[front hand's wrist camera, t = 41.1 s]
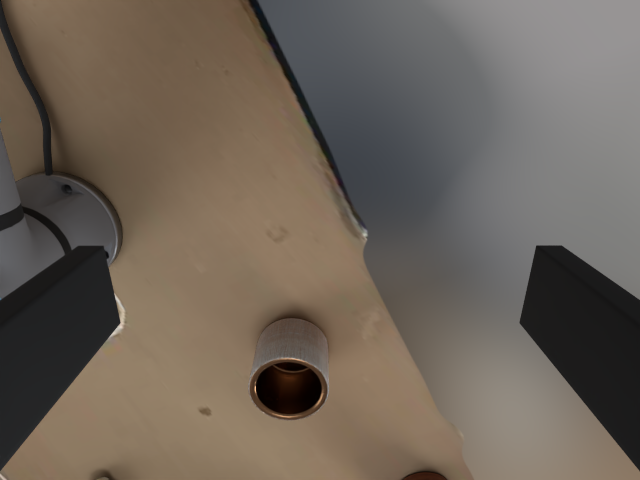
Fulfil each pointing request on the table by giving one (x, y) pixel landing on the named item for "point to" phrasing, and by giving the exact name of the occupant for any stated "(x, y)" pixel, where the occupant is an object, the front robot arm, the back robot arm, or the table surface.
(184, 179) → the table surface
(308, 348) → the planter
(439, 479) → the music box
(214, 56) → the table surface
